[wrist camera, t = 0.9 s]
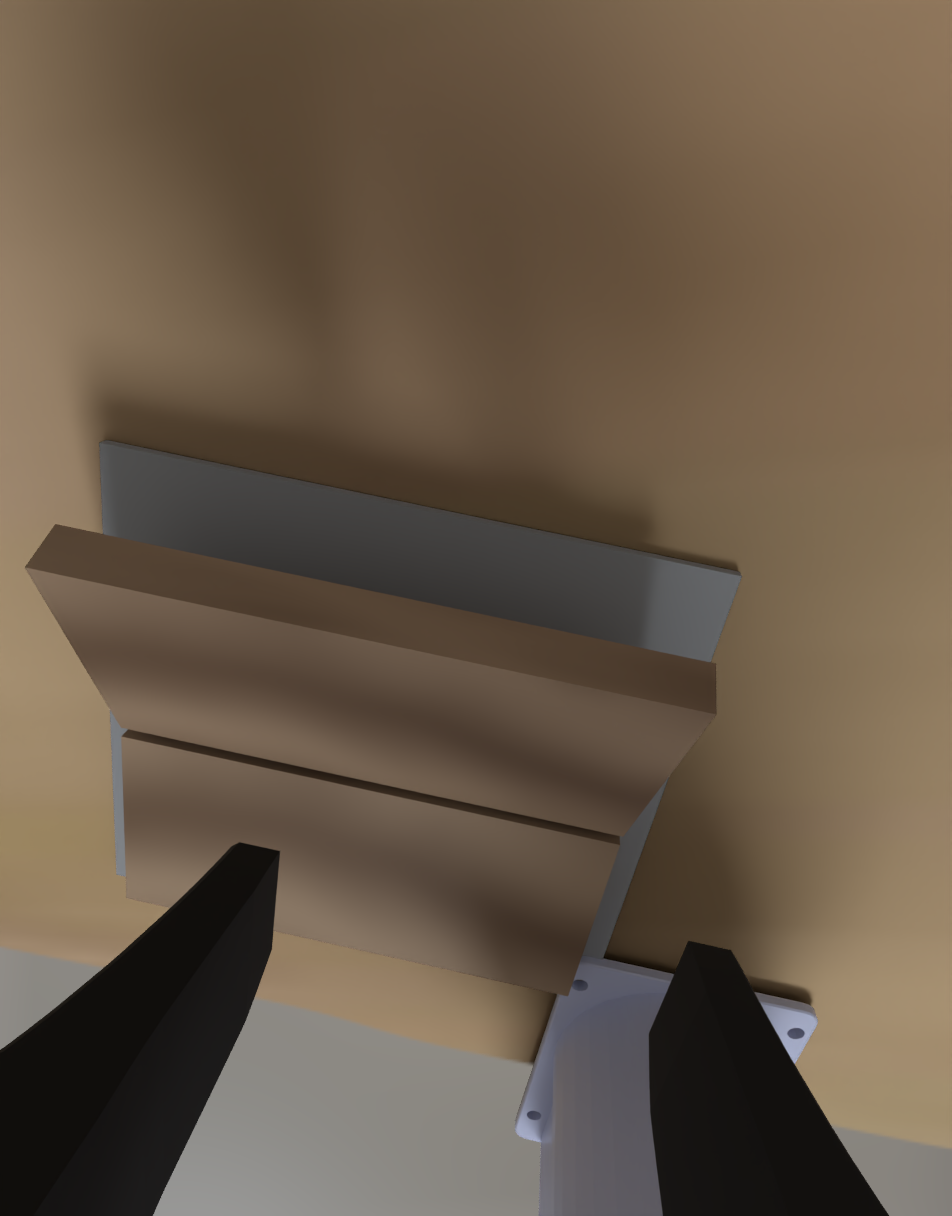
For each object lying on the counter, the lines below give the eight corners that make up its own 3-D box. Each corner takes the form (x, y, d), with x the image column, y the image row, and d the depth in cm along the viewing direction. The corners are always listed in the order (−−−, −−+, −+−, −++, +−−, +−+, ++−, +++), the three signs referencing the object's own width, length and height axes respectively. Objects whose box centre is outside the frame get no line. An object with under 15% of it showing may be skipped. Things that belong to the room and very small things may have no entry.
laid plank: (567, 963, 24) (567, 996, 23) (145, 870, 25) (126, 897, 24) (617, 815, 22) (620, 845, 21) (143, 712, 22) (121, 736, 21)
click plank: (625, 795, 21) (623, 836, 20) (140, 690, 21) (120, 727, 21) (716, 663, 16) (716, 714, 15) (55, 524, 16) (24, 567, 15)
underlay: (594, 972, 25) (594, 980, 25) (121, 867, 25) (116, 874, 25) (739, 571, 18) (741, 576, 18) (106, 439, 19) (99, 442, 19)
